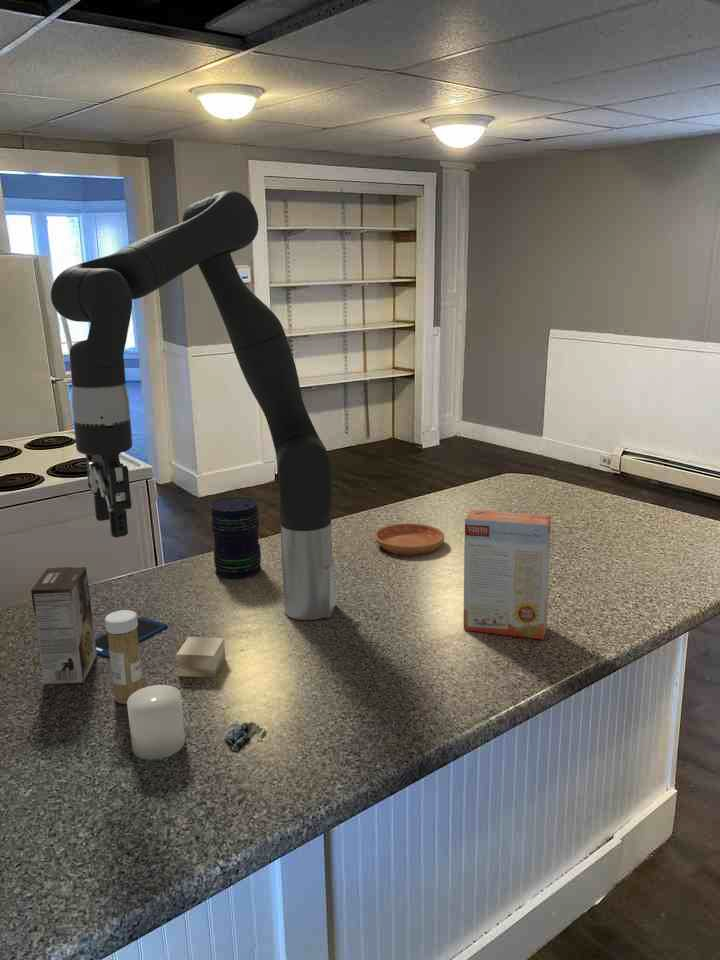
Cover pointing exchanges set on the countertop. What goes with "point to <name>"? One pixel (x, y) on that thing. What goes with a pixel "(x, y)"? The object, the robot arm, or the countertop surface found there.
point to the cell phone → (144, 631)
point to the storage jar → (236, 538)
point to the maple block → (201, 657)
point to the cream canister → (156, 722)
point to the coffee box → (64, 625)
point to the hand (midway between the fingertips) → (111, 527)
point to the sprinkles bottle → (124, 654)
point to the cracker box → (506, 573)
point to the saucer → (409, 538)
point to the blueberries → (241, 735)
